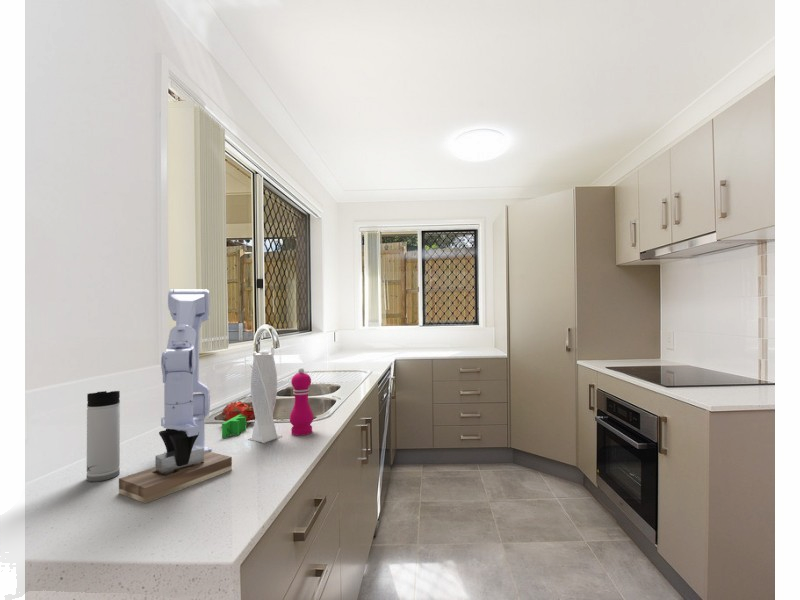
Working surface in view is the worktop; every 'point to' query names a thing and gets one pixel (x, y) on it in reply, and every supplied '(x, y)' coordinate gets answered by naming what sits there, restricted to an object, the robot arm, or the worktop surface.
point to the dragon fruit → (238, 411)
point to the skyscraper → (264, 396)
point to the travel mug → (103, 435)
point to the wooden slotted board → (172, 478)
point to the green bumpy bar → (234, 426)
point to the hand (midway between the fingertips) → (178, 463)
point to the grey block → (168, 462)
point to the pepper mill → (301, 405)
